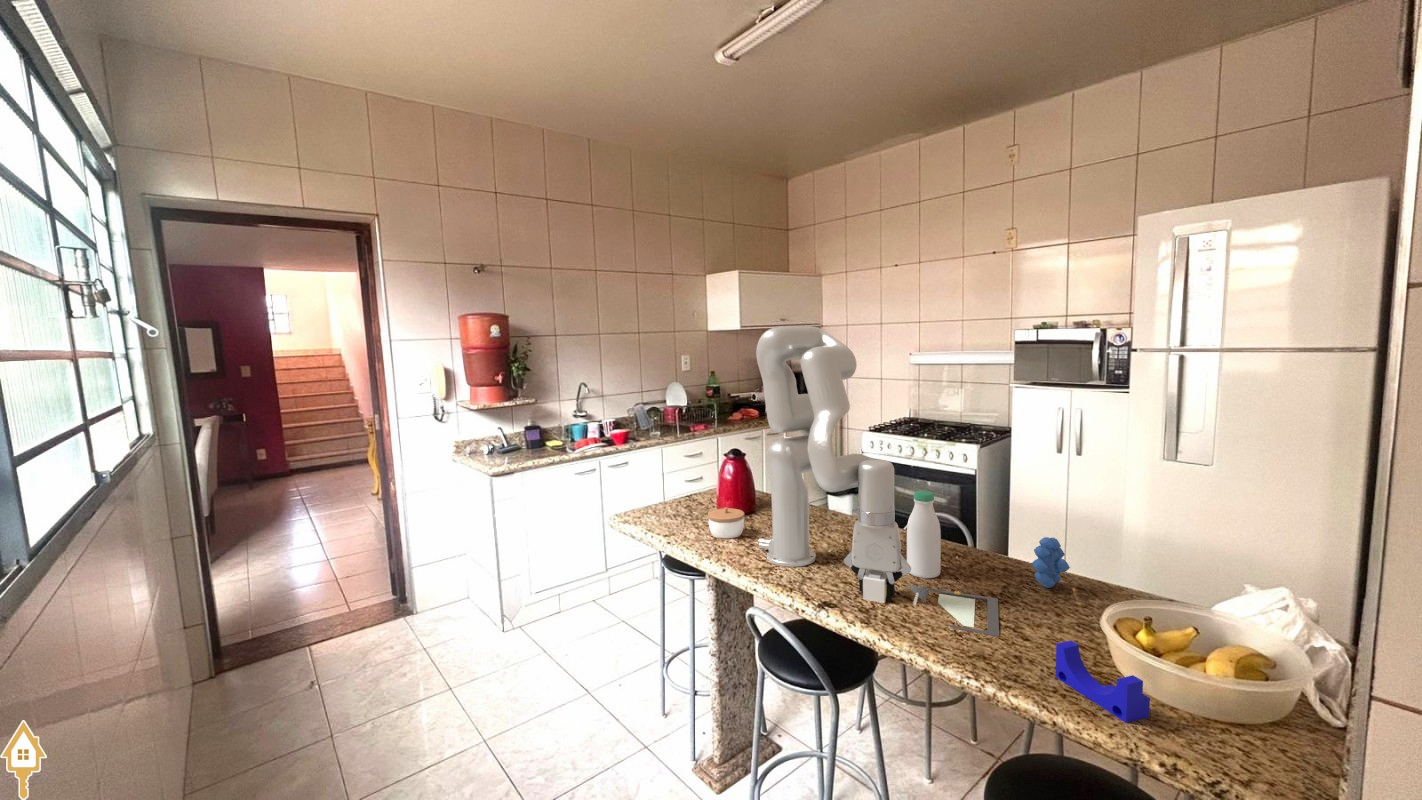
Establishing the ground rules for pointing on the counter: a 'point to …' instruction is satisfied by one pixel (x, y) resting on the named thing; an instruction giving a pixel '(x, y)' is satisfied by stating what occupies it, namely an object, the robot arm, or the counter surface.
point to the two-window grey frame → (991, 602)
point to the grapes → (1049, 562)
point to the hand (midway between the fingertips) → (876, 595)
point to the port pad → (959, 608)
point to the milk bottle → (924, 537)
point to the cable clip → (1116, 700)
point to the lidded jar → (726, 522)
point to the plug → (875, 586)
